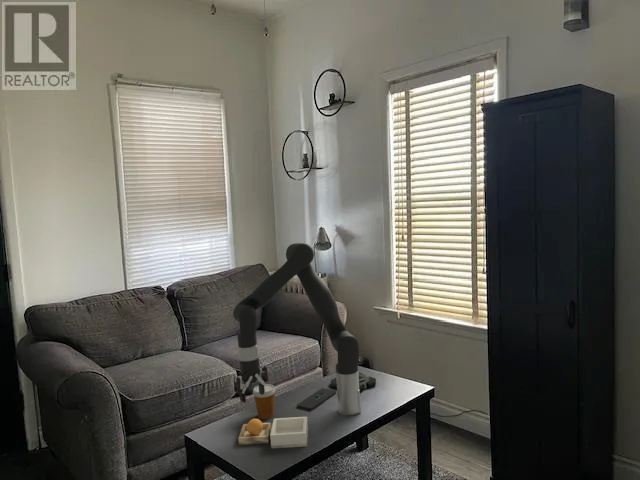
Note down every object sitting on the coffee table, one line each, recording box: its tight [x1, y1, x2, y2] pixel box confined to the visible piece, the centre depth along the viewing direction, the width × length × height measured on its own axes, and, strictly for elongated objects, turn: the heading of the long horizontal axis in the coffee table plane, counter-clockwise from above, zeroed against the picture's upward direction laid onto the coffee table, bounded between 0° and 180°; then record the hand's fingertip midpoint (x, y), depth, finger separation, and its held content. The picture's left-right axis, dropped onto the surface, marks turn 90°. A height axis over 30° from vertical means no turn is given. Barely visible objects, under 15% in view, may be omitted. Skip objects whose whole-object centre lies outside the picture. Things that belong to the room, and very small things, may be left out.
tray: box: [238, 422, 272, 446], centre depth 185 cm, size 11×11×2 cm
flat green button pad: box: [329, 371, 377, 392], centre depth 228 cm, size 18×18×5 cm
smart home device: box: [296, 387, 337, 412], centre depth 214 cm, size 8×2×20 cm
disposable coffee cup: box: [252, 383, 276, 420], centre depth 201 cm, size 10×10×12 cm
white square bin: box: [269, 416, 309, 449], centre depth 182 cm, size 13×13×5 cm
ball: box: [247, 418, 263, 435], centre depth 185 cm, size 6×6×6 cm
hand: (252, 398), depth 183 cm, fingers open, 8 cm apart
